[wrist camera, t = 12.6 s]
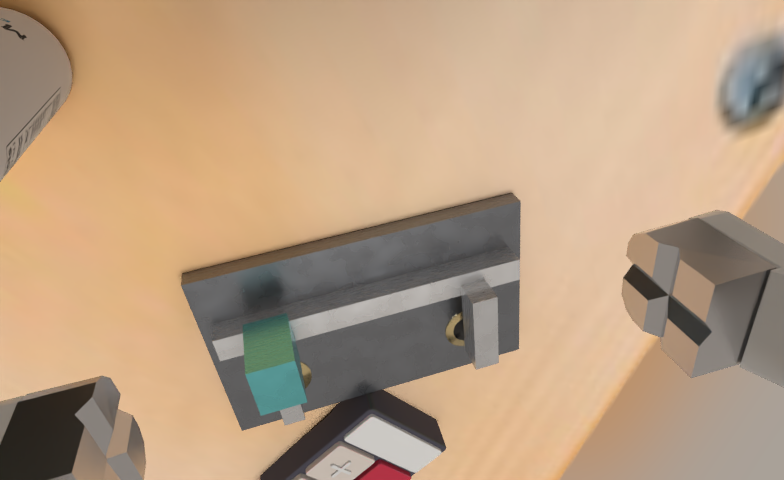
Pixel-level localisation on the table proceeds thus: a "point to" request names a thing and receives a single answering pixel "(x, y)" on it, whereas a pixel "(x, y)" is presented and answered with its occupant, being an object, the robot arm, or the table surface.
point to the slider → (274, 368)
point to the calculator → (363, 443)
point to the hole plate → (348, 268)
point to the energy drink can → (28, 83)
